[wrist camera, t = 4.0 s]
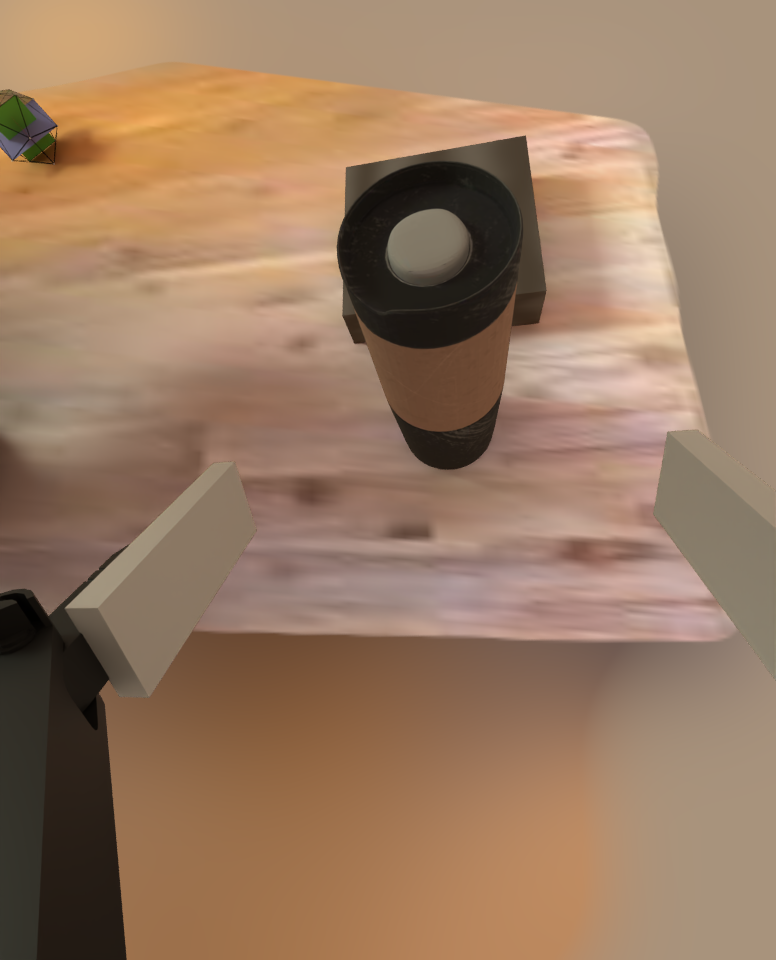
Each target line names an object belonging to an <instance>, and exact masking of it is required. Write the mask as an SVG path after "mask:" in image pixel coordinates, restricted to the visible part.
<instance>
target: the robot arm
mask: <svg viewBox="0 0 776 960" xmlns="http://www.w3.org/2000/svg"><path fill="white" fill-rule="evenodd" d="M653 514H654V516H655V517H656V519H657V520H658V521H659V523H660V524H661V525H662V527H663V528H664V529H665V531H666V532H667V533H668V535H669V536H670V538H671V539H672V540H673V542H674V543H675V544H676V546H677V547H678V548H679V550H680V551H681V553H682V554H683V555H684V557H685V558H686V559H687V561H688V562H689V563H690V565H691V566H692V567H693V569H694V570H695V572H696V573H697V574H698V576H699V577H700V578H701V580H702V581H703V582H704V584H705V585H706V587H707V588H708V589H709V591H710V592H711V593H712V595H713V596H714V597H715V599H716V600H717V601H718V603H719V604H720V606H721V607H722V608H723V610H724V611H725V612H726V614H727V615H728V616H729V618H730V619H731V621H732V622H733V623H734V625H735V626H736V627H737V629H738V630H739V631H740V633H741V634H742V635H743V637H744V638H745V639H746V641H747V642H748V644H749V645H750V646H751V648H752V649H753V650H754V652H755V653H756V654H757V656H758V657H759V659H760V660H761V661H762V663H763V664H764V665H765V667H766V668H767V669H768V670H769V672H770V673H771V675H772V676H773V678H774V679H775V680H776V491H775V490H774V489H773V488H771V487H770V486H769V485H768V484H766V483H765V482H764V481H762V480H761V479H760V478H759V477H757V476H756V475H755V474H753V473H752V472H751V471H749V470H748V469H747V468H746V467H744V466H743V465H742V464H741V463H739V462H738V461H737V460H736V459H734V458H733V457H732V456H730V455H729V454H728V453H727V452H725V451H724V450H723V449H722V448H720V447H719V446H718V445H716V444H715V443H714V442H713V441H711V440H710V439H709V438H707V437H706V436H705V435H704V434H702V433H701V432H700V431H699V430H685V431H671V432H667V438H666V444H665V449H664V455H663V461H662V467H661V472H660V478H659V484H658V489H657V495H656V501H655V506H654V512H653ZM256 531H257V529H256V526H255V523H254V520H253V517H252V514H251V511H250V507H249V504H248V501H247V498H246V495H245V492H244V489H243V486H242V482H241V479H240V476H239V473H238V470H237V467H236V464H235V461H234V462H220V463H213V464H212V465H211V466H210V467H209V468H208V469H207V470H206V471H205V472H204V473H203V474H202V475H201V476H199V477H198V478H197V479H196V480H195V481H194V482H193V483H192V484H191V485H190V486H189V487H188V488H187V489H186V490H185V491H184V492H183V493H182V494H181V495H180V496H179V497H178V498H177V499H176V500H175V501H174V502H173V503H172V504H171V505H170V506H169V507H168V508H167V509H166V510H165V511H164V512H163V513H162V514H161V515H160V516H159V517H158V518H157V519H155V520H154V521H153V522H152V523H151V524H150V525H149V526H148V527H147V528H146V529H145V530H144V531H143V532H142V533H141V534H140V535H139V536H138V537H137V538H136V539H135V540H134V541H133V542H132V543H131V544H129V545H127V546H126V547H124V548H123V549H121V550H120V551H118V552H116V553H115V554H113V555H112V556H111V557H110V558H109V559H108V560H107V561H106V562H105V563H104V564H103V565H102V566H101V567H100V568H99V571H95V572H94V573H93V574H92V575H91V576H90V577H89V578H88V581H87V582H84V583H83V584H82V585H81V586H80V587H79V588H78V589H77V590H76V591H74V592H73V593H72V594H71V595H70V596H69V597H68V598H67V599H66V600H65V601H64V602H63V603H62V604H61V605H60V606H59V607H58V608H57V609H56V610H55V611H54V612H53V613H52V614H50V615H49V616H48V615H47V613H46V612H45V610H44V609H43V607H42V606H41V604H40V603H39V601H38V600H37V598H36V597H35V595H34V594H33V592H32V591H31V590H27V589H16V590H11V591H8V592H4V593H1V594H0V960H126V947H125V936H124V924H123V913H122V901H121V890H120V878H119V866H118V854H117V842H116V831H115V820H114V809H113V797H112V784H111V773H110V761H109V750H108V738H107V726H106V715H105V704H104V702H103V700H102V698H101V696H100V695H99V692H100V690H101V689H102V687H103V686H104V685H105V684H106V682H107V681H108V680H109V681H110V682H111V684H112V685H113V687H114V688H115V690H116V692H117V693H118V695H119V697H147V698H148V697H150V695H151V694H152V693H153V691H154V689H155V688H156V686H157V685H158V683H159V682H160V680H161V679H162V677H163V675H164V674H165V672H166V671H167V669H168V668H169V666H170V664H171V663H172V661H173V660H174V658H175V657H176V655H177V654H178V652H179V651H180V649H181V648H182V646H183V644H184V643H185V641H186V640H187V638H188V636H189V635H190V634H191V632H192V630H193V629H194V627H195V626H196V624H197V623H198V621H199V620H200V618H201V616H202V615H203V613H204V612H205V610H206V609H207V607H208V606H209V604H210V602H211V601H212V599H213V598H214V596H215V595H216V593H217V592H218V590H219V588H220V587H221V585H222V584H223V582H224V581H225V579H226V578H227V576H228V574H229V573H230V571H231V570H232V568H233V567H234V565H235V564H236V562H237V561H238V559H239V557H240V556H241V554H242V553H243V551H244V550H245V548H246V547H247V545H248V543H249V542H250V540H251V539H252V537H253V536H254V534H255V533H256Z"/></svg>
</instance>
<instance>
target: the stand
mask: <svg viewBox="0 0 776 960" xmlns="http://www.w3.org/2000/svg"><path fill="white" fill-rule="evenodd" d="M430 161H457V162H463V163H468V164H471V165H474V166H478V167H480V168H482V169H485V170H487V171H489V172H490V173H492V174H494V175H495V176H497V177H498V178H499V179H500V180H502V181H503V182H504V183H505V184H506V185H507V186H508V188H509V189H510V190H511V191H512V193H513V194H514V196H515V198H516V200H517V202H518V204H519V207H520V209H521V214H522V218H523V242H522V250H521V257H520V265H519V273H518V280H517V288H516V295H515V303H514V310H513V318H512V326H516V325H525V324H534V323H539V320H540V315H541V311H542V307H543V303H544V299H545V295H546V284H545V276H544V269H543V261H542V254H541V246H540V239H539V231H538V224H537V216H536V209H535V201H534V194H533V186H532V179H531V171H530V164H529V156H528V148H527V141H526V136H521V137H515V138H510V139H504V140H498V141H493V142H487V143H481V144H476V145H470V146H464V147H459V148H453V149H447V150H442V151H436V152H430V153H425V154H419V155H413V156H408V157H402V158H396V159H391V160H385V161H379V162H374V163H368V164H362V165H357V166H351V167H346V187H345V215H346V214H347V212H348V210H349V208H350V207H351V206H352V204H353V203H354V202H355V200H356V199H357V198H358V197H359V196H360V195H361V194H362V193H363V192H364V191H365V190H366V189H367V188H368V187H370V186H371V185H372V184H374V183H375V182H376V181H378V180H379V179H381V178H383V177H384V176H386V175H388V174H390V173H392V172H394V171H396V170H399V169H401V168H404V167H407V166H410V165H414V164H418V163H422V162H430ZM343 318H344V320H345V322H346V325H347V327H348V330H349V332H350V334H351V337H352V339H353V341H354V343H362V342H366V340H365V338H364V335H363V332H362V329H361V327H360V324H359V321H358V318H357V316H356V313H355V310H354V307H353V304H352V302H351V299H350V296H349V294H348V291H347V288H346V285H345V283H344V281H343Z"/></svg>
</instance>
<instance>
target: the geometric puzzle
mask: <svg viewBox="0 0 776 960" xmlns="http://www.w3.org/2000/svg"><path fill="white" fill-rule="evenodd" d="M0 105H1V106H0V147H1V149H2V150H3V151H4V152H5V153H6V154H7V155H8V156H9V157H10V158H11V160H12V161H15V160H14V159H16V158H17V157H18V156H20V155H21V154H23V155H24V156H25V157H26V158H27V160H28V161H29V162H30V161H31V160H32V159H33V158H35V157H36V156H37V155H38V154H40V153H41V152H43V151H44V150H45V149H46V148H47V147H49V146H50V145H51V144H52V143H54V142H55V141H56V139H54V137H52V136H53V135H52V136H51V135H50V134H49V132H51V130H53V129H54V128H55V127H58V125H56V124H55V123H54V121H53V120H52V119H51V118H50V117H49V116H48V115H47V114H46V113H45V111H44V110H43V109H42V108H41V107H40V106H39V105H38V104H37V103H36V102H35V100H34V98H30V97H27V96H25V95H22V94H19V93H17V92H14V91H12V90H2V91H0ZM51 134H52V133H51ZM56 137H57V131H56ZM55 150H56V144H55ZM43 153H44V152H43ZM44 154H45V153H44ZM45 155H46V154H45ZM21 156H22V155H21ZM46 156H47V155H46ZM22 157H23V156H22ZM25 157H24V158H25ZM47 157H48V156H47ZM26 158H25V159H26ZM48 158H49V157H48ZM49 159H50V158H49ZM50 160H51V159H50ZM21 162H24V161H21ZM32 162H34V163H37V162H36V161H32ZM51 162H52V163H46V164H54V165H55V163H54V162H55V152H54V162H53V161H52V160H51ZM41 163H44V162H41Z"/></svg>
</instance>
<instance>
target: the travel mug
mask: <svg viewBox="0 0 776 960" xmlns="http://www.w3.org/2000/svg"><path fill="white" fill-rule="evenodd" d="M522 242H523V218H522V214H521V209H520V207H519V204H518V202H517V200H516V198H515V196H514V194H513V193H512V191H511V190H510V189H509V188H508V186H507V185H506V184H505V183H504V182H503V181H502V180H500V179H499V178H498V177H497V176H495V175H494V174H492V173H490V172H489V171H487V170H485V169H482V168H480V167H478V166H474V165H471V164H468V163H463V162H457V161H430V162H422V163H418V164H414V165H410V166H407V167H404V168H401V169H399V170H396V171H394V172H392V173H390V174H388V175H386V176H384V177H383V178H381V179H379V180H378V181H376V182H375V183H374V184H372V185H371V186H370V187H368V188H367V189H366V190H365V191H364V192H363V193H362V194H361V195H360V196H359V197H358V198H357V199H356V200H355V202H354V203H353V204H352V206H351V207H350V208H349V210H348V212H347V214H346V215H345V217H344V219H343V222H342V224H341V227H340V231H339V235H338V241H337V258H338V264H339V269H340V272H341V276H342V279H343V281H344V283H345V285H346V288H347V291H348V294H349V296H350V299H351V302H352V304H353V307H354V310H355V313H356V316H357V318H358V321H359V324H360V327H361V329H362V332H363V335H364V338H365V340H366V343H367V346H368V349H369V351H370V354H371V357H372V360H373V363H374V365H375V368H376V371H377V374H378V376H379V379H380V382H381V385H382V387H383V390H384V393H385V396H386V398H387V401H388V403H389V405H390V407H391V410H392V412H393V414H394V416H395V418H396V420H397V423H398V425H399V427H400V429H401V431H402V433H403V436H404V438H405V440H406V442H407V444H408V446H409V448H410V449H411V451H412V452H413V454H414V455H415V456H416V457H417V458H418V459H419V460H421V461H422V462H423V463H425V464H427V465H429V466H432V467H434V468H438V469H457V468H461V467H464V466H467V465H469V464H471V463H472V462H474V461H475V460H477V459H478V458H479V457H480V456H481V455H482V454H483V453H484V452H485V450H486V449H487V447H488V446H489V443H490V441H491V438H492V435H493V431H494V427H495V422H496V418H497V413H498V408H499V404H500V399H501V395H502V390H503V385H504V379H505V371H506V364H507V356H508V349H509V341H510V333H511V326H512V318H513V310H514V303H515V295H516V288H517V280H518V273H519V265H520V257H521V250H522Z"/></svg>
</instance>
